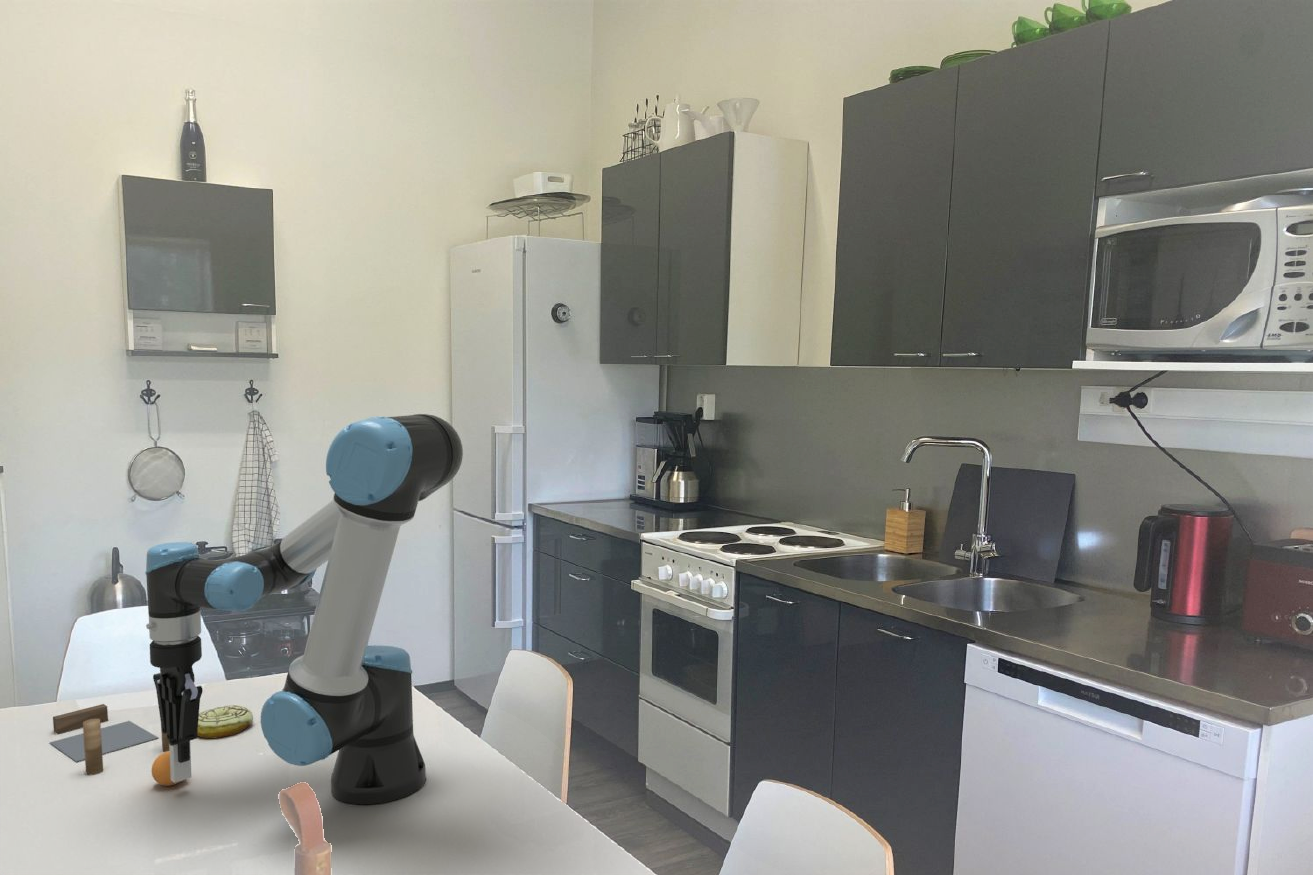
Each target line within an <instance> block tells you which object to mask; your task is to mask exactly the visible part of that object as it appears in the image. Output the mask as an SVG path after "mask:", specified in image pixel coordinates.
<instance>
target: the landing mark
mask: <svg viewBox="0 0 1313 875" xmlns="http://www.w3.org/2000/svg"><path fill="white" fill-rule="evenodd" d="M156 738H158V739H159V737H158V736H157V735H156V734H155V735H154V734H152V732H150V731H148V730H147V729H145V728H143V727H141V726H139V725H138V724H136V723H134V722H132V721H130V720H127V721H122V722H120V723H116V724H113V725H109V726H105V727H101V741H102V756H104V755H107V754H110V753H109V752H111V753H114V752H117V751H122V750H123V749H127V747H128V748H130V746H131V747H133V746H134V745H135V746H137V745H141V744H145V743H149V742H151V741H150V740H152V741H155V740H157V739H156ZM154 739H155V740H154ZM49 744H50V745H51V746H53V747H54V748H55V749H57V750H58V751H60V752H61V753H62V752H63V753H62V754H64V755H65V756H66V755H67V757H68V758H69V759H70V760H72V759H73V760H74V762H75V763H80V762H83V761H85V749H84V734H83V733H80V734H75V735H72V736H68V737H65V738H61V739H58V740H53V741H50V742H49ZM106 753H107V754H106ZM73 760H72V761H73ZM79 761H80V762H79Z"/></svg>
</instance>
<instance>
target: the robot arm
mask: <svg viewBox="0 0 1313 875" xmlns="http://www.w3.org/2000/svg"><path fill="white" fill-rule="evenodd" d="M463 455H464V450H463V444H462V441H461V438H460V435H459V433H458V432H457V430H456V429H455V428H454V427H453V426H452V425H451V424H450V422H448V421H446V420H444V419H443V418H441V417H439V416H436V415H433V414H428V413H418V414H412V415H411V414H410V415H398V416H374V417H373V416H372V417H367V418H366V419H365V418H364V419H361V420H358V421H354V422H353V423H350V424H348V425H347V426H345V427H344V428H343V429H341V430H340V431H339V432H338V433H337V435H336V436H335V437H334V439H332V441H331V444H330V445H329V448H328V451H327V454H326V458H325V459H326V461H325V473H326V476H329V478H330V480H329V481H328V483H329V485H330V488H331V489H332V491H333V492H334V494H333V498H332V500H331V501H330V502H328V503H327V504H326V505H324V506H323V507H322V508H320V509H319V510H318V511H317V512H315V513H314V514H312V515H311V516H310V517H308V519H306V520H305V521H304V522H302V523H300V524H299V525H298V526H297V527H296V528H294V529H292V531H290V532H289V533H287V534H286V535H285V536H284V537H283V538H281V539H280V540H279V541H277V542H276V543H275V544H273V545H271V546H270V547H268V548H266V549H262V550H259V551H253V552H251V553H245V554H241V555H238V556H234V557H231V558H230V557H229V558H225V559H221V560H220V559H219V560H218V559H217V560H216V559H205V558H200V554H199V551H198V550H199V549H198V546H197V545H196V544H194V543H193V542H187V541H181V542H180V541H178V542H177V541H176V542H175V541H174V542H166V543H161V544H156V545H153V546H151V547H150V548H148V551H146V552H147V553H146V565H145V566H146V568H145V572H144V573H145V576H146V592H147V594H146V595H147V610H148V623H146V625H145V626H146V629H147V630H149V632H148V634H149V635H148V636H149V639H150V641H151V642H150V644H149V661H150V664H151V666H153V668H154V667H155V668H159V671H160V672H159V673H154V674H153V676H152V679H153V680H152V681H153V682H154V686H155V689H156V690H155V691H156V698H157V705H158V710H159V718H160V727H162V732H163V734H165V733H167V739H168V740H170V741H169V751H170V775H171V781H173V782H174V783H176V782H179V781H180V782H182V781H185V780H187V779H190V778H192V758H191V757H192V756H191V741H193V740H196V739H197V738H198V735H197V731H198V719H199V713H200V706H201V705H200V704H201V698H202V695H203V692H204V691H203V687H202V685H197V686H196V685H195V680H196V678H195V672H194V670H193V668H194V667H193V665H194V664H195V663H196V662H199V661H200V660H201V659H202V656H203V654H202V653H203V652H202V651H203V650H202V638H201V636H200V635H201V633H202V616H201V614H202V612H201V608H206V609H211V610H219V611H224V612H244V611H249V610H250V609H252V607H254V605H255V604H256V603H257V602H259V600H260V599H261V598H263V597H264V598H265V597H266V596H270V595H273V594H277V593H280V592H283V591H286V590H293V589H297V588H298V587H301V586H302V585H304V584H307V583H308V582H310V581H311V580H312V579H313V578H314V576H315V574H316V572H317V569H318V568H320V567H321V566H322V565H324V564H325V563H326V562H327V564H326V568H325V572H324V576H323V580H322V584H321V587H320V591H319V594H318V598H317V603H316V606H315V609H314V615H313V619H312V621H311V626H310V629H309V633H308V637H307V640H306V645H305V649H304V652H303V654H302V655H300V656H298V657H297V658H295V659H294V660H293V661H292V662H291V663H290V665H289V668H288V671H287V675H286V678H285V683H284V686H283V689H281V691H276V692H275V693H273V694H272V695H271V696H270V697H269V698H267V699H266V700H265V702H264V704H263V705H262V708H261V713H260V727H261V731H262V734H263V736H264V738H265V739H266V741H267V743H268V746H269V748H270V749H271V751H273V753H274V754H275V755H276V756H278V757H279V758H280V759H281V760H283V761H284V762H286V763H288V764H290V765H294V766H298V767H305V766H309V765H312V764H314V763H316V762H319V761H322V760H323V761H324V760H325V759H327V758H329V756H332V754H334V753H336V752H337V756H336V760H335V763H334V767H333V769H332V770H333V771H332V773H331V778H330V789H331V794H332V796H333V797H334V798H335V799H336V800H338V801H340V802H343V803H346V804H353V805H373V804H374V805H376V804H382V803H388V802H392V801H396V800H399V799H403V798H404V797H407V796H410V795H411V794H413V793H415V792H417V791H418V790H420V789H421V788H422V787H423V786H424V784H425V782H426V780H427V775H426V772H427V770H426V764H425V761H424V758H423V755H422V753H421V751H420V748H419V745H418V743H417V740H416V737H415V735H414V718H413V717H414V712H413V690H412V689H413V686H412V685H413V684H412V680H413V679H412V674H413V669H412V666H411V657H410V654H409V653H408V651H406V650H405V649H403V648H402V647H397V646H392V645H391V646H390V645H368V644H369V640H370V637H371V634H372V629H373V628H374V623H375V619H376V615H377V611H378V608H379V604H380V601H381V598H382V594H383V590H384V586H385V584H386V581H387V580H386V579H387V575H388V572H389V569H390V565H391V562H392V558H393V555H394V554H393V553H394V550H395V547H396V543H397V540H398V537H399V536H398V535H399V532H400V529H401V526H403V525H404V524H407V523H408V522H410V521H412V520H413V519H414V518H415V514H416V511H417V507H418V504H419V502H422V501H423V500H425V499H426V498H428V497H429V496H431V495H432V494H433V493H435V492H436V491H438V490H439V489H441V488H442V487H444V486H445V485H447V484H448V483H450V482H451V481H452V480H453V479H454V477H456V475H457V474H458V472H459V470H460V469H461V466H462V463H463V457H464V456H463ZM180 782H179V783H180Z"/></svg>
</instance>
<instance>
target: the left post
mask: <svg viewBox="0 0 1313 875" xmlns="http://www.w3.org/2000/svg"><path fill="white" fill-rule="evenodd" d="M101 728H102V726H101V723H100V719H89V720H86V721H84V722H83V728H82V729H83V731H82V732H83V734H84V749H85V760H84V762H85V764H84V766H85V774H86V775H88V776H89V775H91V776H92V775H97V774H101V773H103V771H104V761H103V759H104V758H103V757H104V756H103V755H102V741H101Z"/></svg>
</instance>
